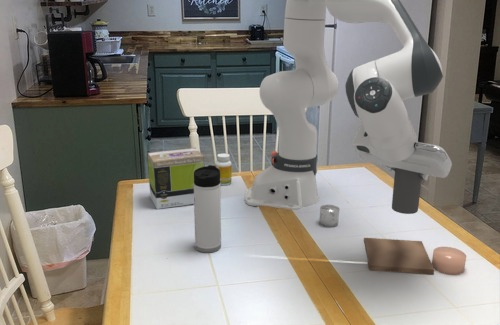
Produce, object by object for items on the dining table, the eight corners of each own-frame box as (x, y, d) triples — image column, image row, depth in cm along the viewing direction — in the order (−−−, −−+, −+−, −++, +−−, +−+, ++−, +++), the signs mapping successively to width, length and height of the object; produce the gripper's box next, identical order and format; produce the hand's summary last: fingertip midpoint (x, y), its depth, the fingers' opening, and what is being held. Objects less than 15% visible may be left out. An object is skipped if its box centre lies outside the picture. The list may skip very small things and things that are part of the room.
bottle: (419, 215, 114) (426, 150, 109) (392, 213, 115) (398, 149, 110) (416, 205, 119) (423, 143, 115) (390, 203, 120) (396, 142, 116)
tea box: (197, 192, 160) (196, 146, 155) (206, 203, 151) (205, 155, 146) (149, 197, 155) (147, 151, 150) (155, 210, 146) (153, 161, 141)
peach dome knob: (435, 274, 114) (437, 260, 112) (428, 259, 120) (430, 245, 119) (468, 276, 113) (470, 262, 112) (459, 261, 119) (461, 247, 118)
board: (369, 270, 115) (369, 265, 114) (363, 241, 128) (364, 237, 128) (433, 274, 113) (434, 269, 113) (421, 245, 126) (421, 241, 126)
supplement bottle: (211, 183, 167) (211, 155, 164) (223, 179, 171) (223, 151, 168) (223, 187, 164) (223, 158, 161) (235, 183, 168) (235, 155, 165)
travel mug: (225, 243, 127) (225, 166, 120) (215, 254, 121) (214, 175, 114) (202, 239, 128) (200, 163, 122) (190, 250, 123) (188, 171, 116)
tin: (321, 229, 134) (323, 212, 133) (317, 221, 139) (318, 204, 137) (339, 229, 135) (341, 212, 133) (334, 221, 140) (336, 204, 138)
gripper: (450, 135, 100) (460, 171, 110) (356, 120, 112) (374, 153, 122) (438, 162, 98) (450, 196, 108) (345, 143, 110) (363, 175, 120)
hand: (409, 173), depth 115 cm, fingers closed on bottle, 6 cm apart
